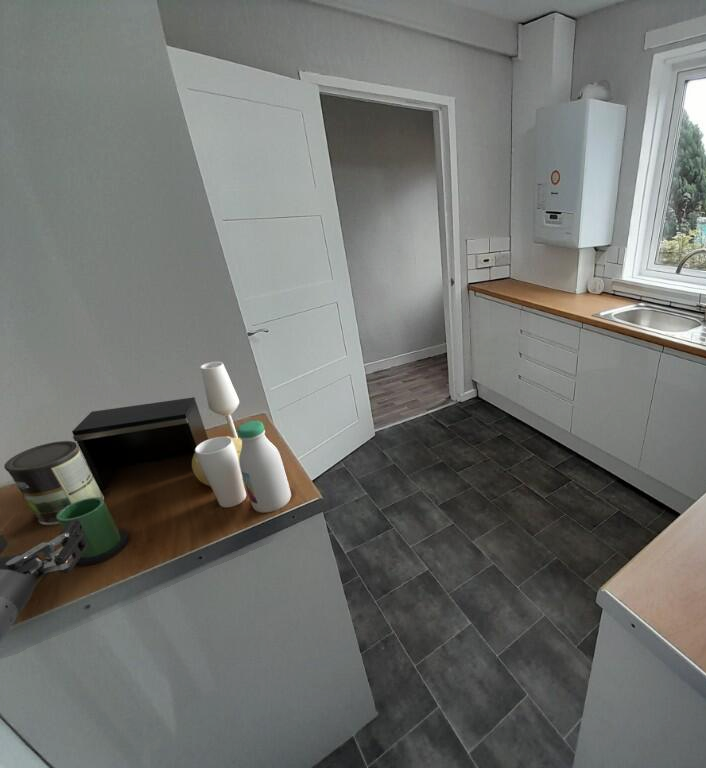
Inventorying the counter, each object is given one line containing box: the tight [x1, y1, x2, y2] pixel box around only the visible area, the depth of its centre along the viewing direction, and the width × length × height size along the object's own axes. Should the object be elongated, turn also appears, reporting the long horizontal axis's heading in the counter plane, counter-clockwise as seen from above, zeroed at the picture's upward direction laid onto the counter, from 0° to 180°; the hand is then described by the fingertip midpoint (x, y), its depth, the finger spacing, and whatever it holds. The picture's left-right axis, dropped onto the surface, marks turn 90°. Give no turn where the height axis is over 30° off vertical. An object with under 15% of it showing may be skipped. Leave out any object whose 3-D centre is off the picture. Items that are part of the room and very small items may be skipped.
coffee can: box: [3, 440, 105, 526], centre depth 86 cm, size 10×10×14 cm
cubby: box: [71, 396, 209, 492], centre depth 99 cm, size 20×10×16 cm, turn 115°
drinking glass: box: [195, 436, 247, 508], centre depth 89 cm, size 7×7×15 cm
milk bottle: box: [236, 420, 292, 514], centre depth 88 cm, size 8×8×20 cm
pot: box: [56, 497, 121, 558], centre depth 76 cm, size 6×6×9 cm
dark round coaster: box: [75, 529, 130, 567], centre depth 78 cm, size 8×8×1 cm
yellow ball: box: [191, 435, 243, 487], centre depth 97 cm, size 11×12×11 cm
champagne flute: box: [199, 361, 240, 438], centre depth 107 cm, size 7×7×24 cm
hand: (39, 531), depth 64 cm, fingers open, 8 cm apart
